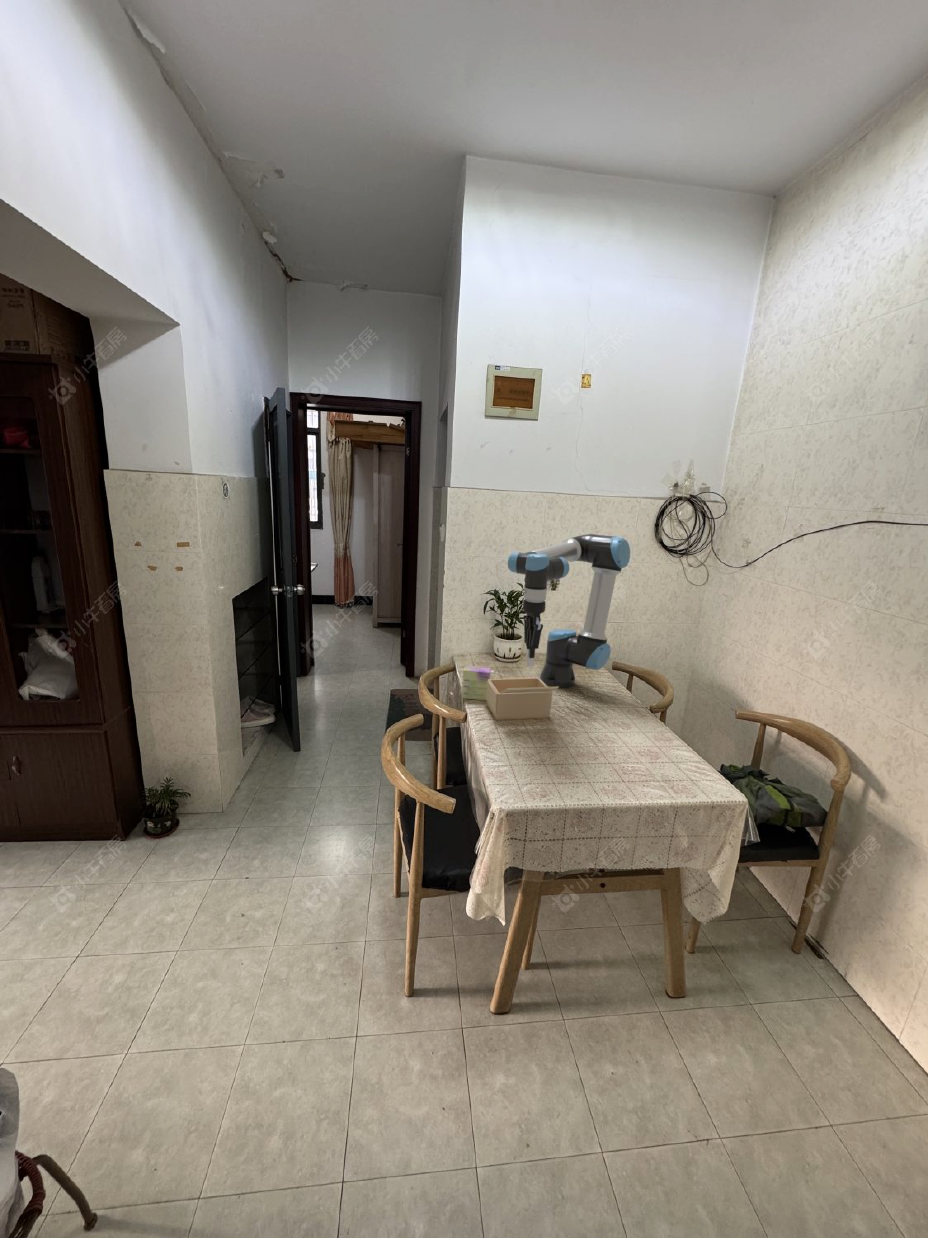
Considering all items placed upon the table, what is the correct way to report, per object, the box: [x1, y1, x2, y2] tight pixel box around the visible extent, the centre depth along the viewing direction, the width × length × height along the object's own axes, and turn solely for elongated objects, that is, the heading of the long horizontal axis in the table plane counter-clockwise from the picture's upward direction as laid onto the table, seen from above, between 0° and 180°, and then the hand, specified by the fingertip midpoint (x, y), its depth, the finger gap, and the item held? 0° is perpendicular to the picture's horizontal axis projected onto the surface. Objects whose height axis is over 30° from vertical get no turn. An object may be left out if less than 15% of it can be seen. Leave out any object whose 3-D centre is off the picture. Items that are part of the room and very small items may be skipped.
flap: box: [501, 686, 560, 694], centre depth 174 cm, size 19×8×1 cm
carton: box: [486, 677, 553, 721], centre depth 187 cm, size 21×14×10 cm
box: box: [461, 665, 491, 702], centre depth 197 cm, size 10×6×12 cm, turn 84°
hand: (529, 665), depth 176 cm, fingers closed
